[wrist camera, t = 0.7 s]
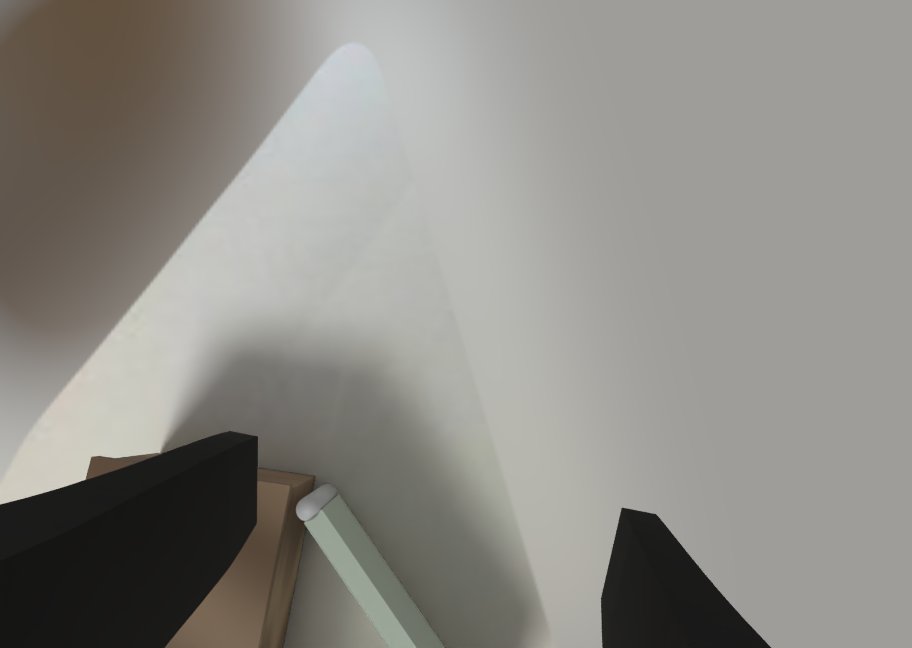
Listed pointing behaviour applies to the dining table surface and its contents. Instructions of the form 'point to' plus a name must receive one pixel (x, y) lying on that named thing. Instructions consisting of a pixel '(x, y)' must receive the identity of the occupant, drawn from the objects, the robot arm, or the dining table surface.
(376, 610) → the door
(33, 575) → the robot arm
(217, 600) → the cabinet
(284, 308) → the dining table surface
